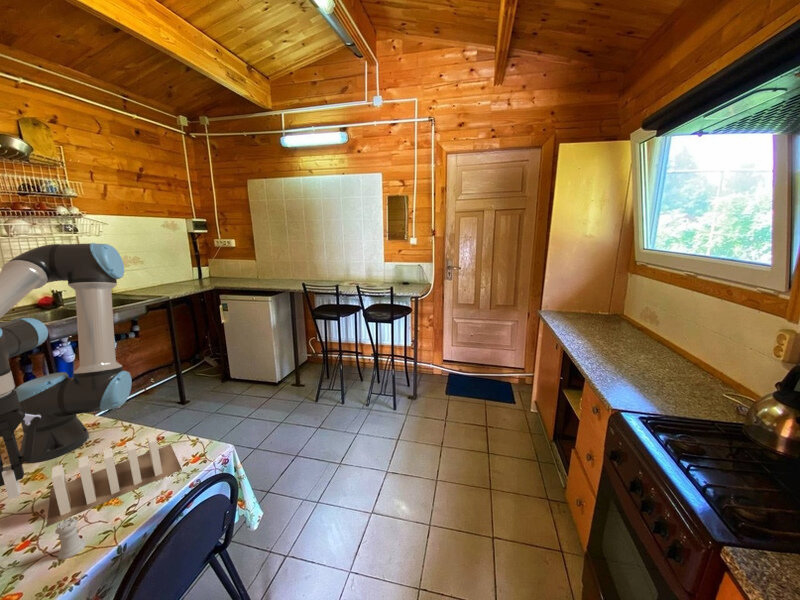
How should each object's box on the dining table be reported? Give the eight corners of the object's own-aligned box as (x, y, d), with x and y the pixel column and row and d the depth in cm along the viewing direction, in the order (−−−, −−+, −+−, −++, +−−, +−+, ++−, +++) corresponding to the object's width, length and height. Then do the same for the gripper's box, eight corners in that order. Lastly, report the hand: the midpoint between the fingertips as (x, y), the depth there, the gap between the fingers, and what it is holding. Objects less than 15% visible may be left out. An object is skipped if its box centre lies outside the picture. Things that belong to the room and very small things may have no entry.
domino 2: (87, 504, 79) (78, 468, 77) (86, 493, 83) (78, 458, 81) (96, 501, 80) (88, 465, 78) (95, 490, 84) (87, 455, 82)
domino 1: (60, 515, 76) (51, 478, 74) (61, 503, 80) (52, 467, 78) (70, 511, 77) (61, 474, 75) (70, 499, 81) (62, 464, 79)
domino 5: (155, 476, 88) (149, 443, 87) (152, 467, 92) (146, 435, 90) (162, 473, 90) (156, 440, 88) (159, 464, 93) (153, 432, 91)
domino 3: (111, 494, 82) (104, 459, 80) (110, 484, 86) (103, 450, 84) (119, 491, 83) (112, 456, 82) (118, 481, 87) (111, 447, 85)
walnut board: (47, 532, 74) (46, 526, 73) (51, 493, 85) (50, 488, 85) (182, 474, 91) (182, 469, 91) (171, 448, 103) (170, 444, 102)
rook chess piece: (69, 567, 66) (60, 534, 64) (52, 563, 66) (43, 530, 65) (93, 547, 70) (86, 515, 68) (77, 543, 71) (70, 512, 69)
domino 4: (134, 485, 85) (127, 451, 84) (132, 475, 89) (125, 442, 87) (141, 481, 87) (135, 448, 85) (139, 472, 90) (133, 439, 88)
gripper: (-71, 414, 61) (-38, 522, 65) (33, 391, 70) (56, 487, 74) (-59, 400, 66) (-29, 501, 71) (36, 380, 75) (57, 471, 79)
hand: (14, 494), depth 72 cm, fingers closed
